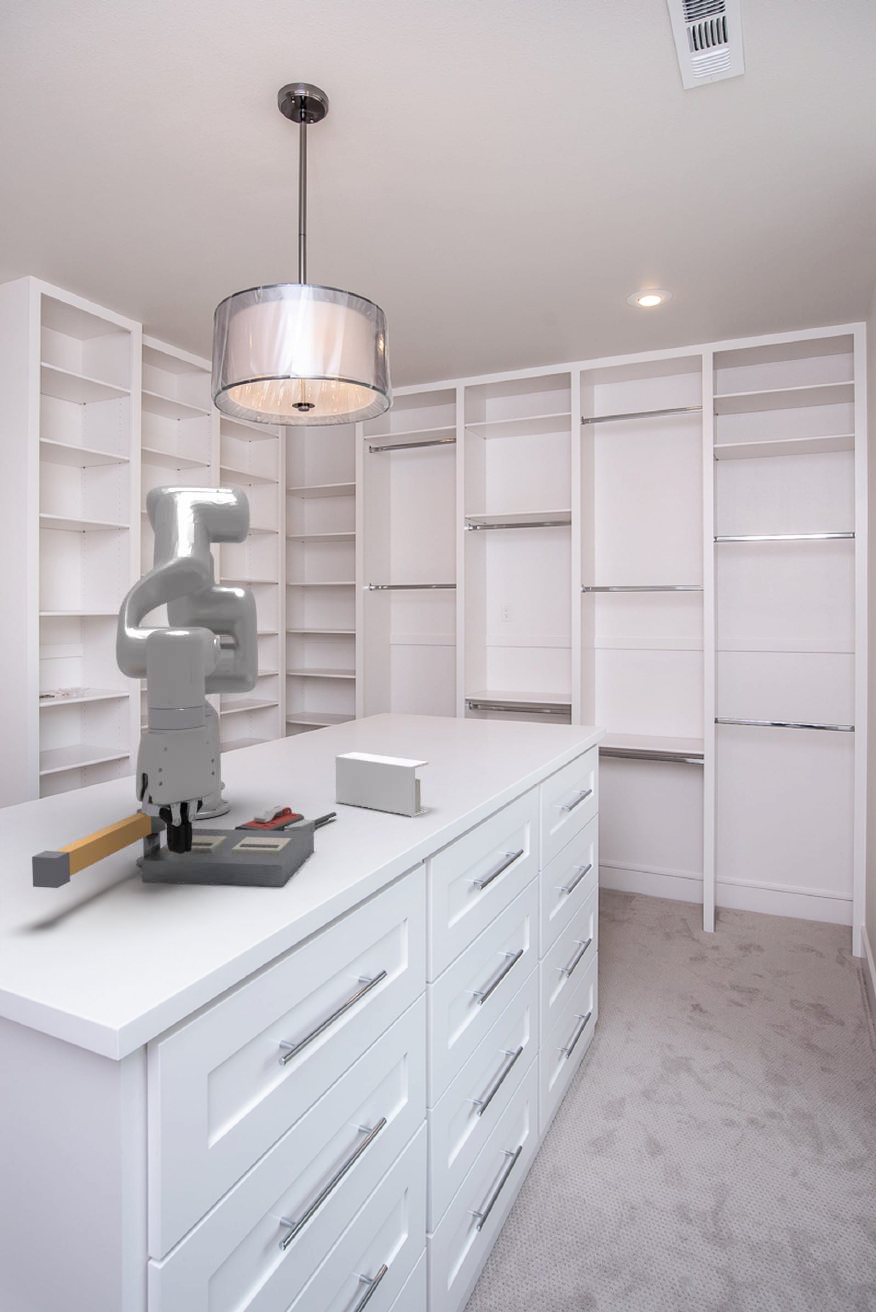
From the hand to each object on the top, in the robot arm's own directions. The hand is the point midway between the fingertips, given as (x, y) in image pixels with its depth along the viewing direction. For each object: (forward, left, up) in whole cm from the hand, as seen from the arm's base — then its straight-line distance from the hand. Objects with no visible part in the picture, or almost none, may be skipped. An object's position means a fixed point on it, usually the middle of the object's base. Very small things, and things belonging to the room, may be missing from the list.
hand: (179, 850), depth 107 cm
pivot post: (-7, -8, -4) cm, 11 cm away
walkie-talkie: (-25, +7, -5) cm, 27 cm away
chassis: (-7, +5, -4) cm, 10 cm away
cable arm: (+4, -8, 0) cm, 9 cm away
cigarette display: (-43, +20, -5) cm, 48 cm away
